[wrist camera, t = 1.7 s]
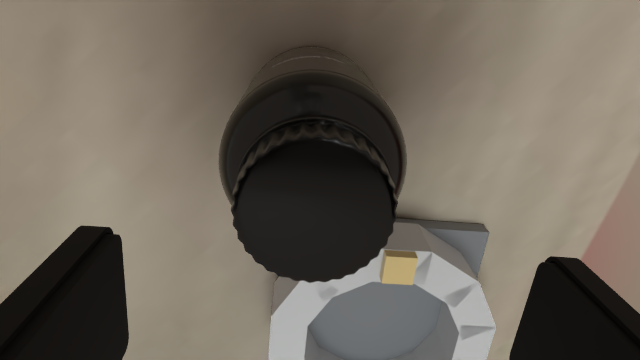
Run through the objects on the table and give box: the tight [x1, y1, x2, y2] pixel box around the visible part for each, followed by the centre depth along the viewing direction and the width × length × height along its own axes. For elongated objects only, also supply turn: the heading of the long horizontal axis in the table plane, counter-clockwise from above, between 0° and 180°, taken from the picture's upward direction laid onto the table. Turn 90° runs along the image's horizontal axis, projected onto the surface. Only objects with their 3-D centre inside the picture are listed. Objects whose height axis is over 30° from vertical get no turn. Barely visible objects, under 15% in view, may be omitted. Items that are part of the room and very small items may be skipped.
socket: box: [268, 218, 496, 360], centre depth 26 cm, size 12×12×5 cm
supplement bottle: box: [219, 47, 407, 283], centre depth 18 cm, size 7×7×12 cm
